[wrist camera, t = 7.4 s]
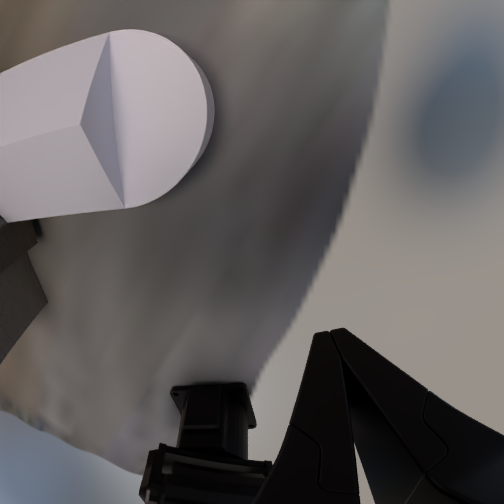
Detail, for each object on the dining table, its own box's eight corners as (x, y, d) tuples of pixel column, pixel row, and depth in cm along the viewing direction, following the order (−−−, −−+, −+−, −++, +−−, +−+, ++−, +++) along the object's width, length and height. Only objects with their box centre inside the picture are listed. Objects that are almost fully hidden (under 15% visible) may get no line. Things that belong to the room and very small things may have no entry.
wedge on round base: (35, 205, 18) (219, 185, 18) (-26, 245, 12) (204, 227, 12) (20, 78, 14) (210, 31, 14) (-51, 82, 8) (189, -10, 8)
